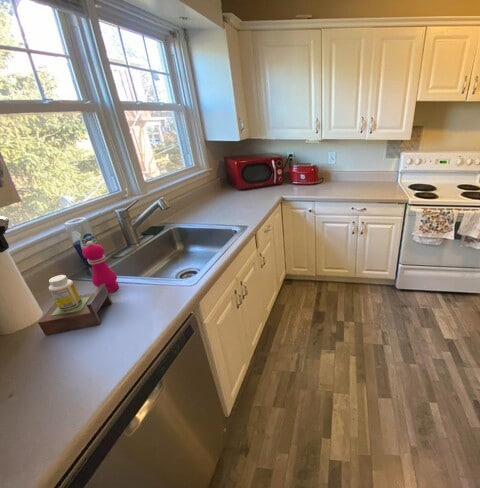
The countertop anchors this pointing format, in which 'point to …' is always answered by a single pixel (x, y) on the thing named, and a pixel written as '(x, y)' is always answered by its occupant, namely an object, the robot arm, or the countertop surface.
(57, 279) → the supplement bottle
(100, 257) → the pepper mill
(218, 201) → the countertop surface
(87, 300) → the brown wooden box
